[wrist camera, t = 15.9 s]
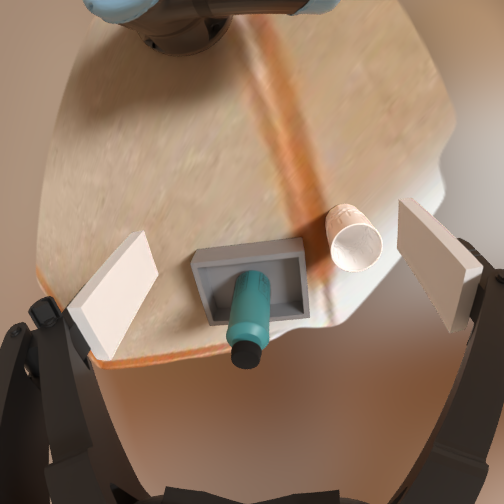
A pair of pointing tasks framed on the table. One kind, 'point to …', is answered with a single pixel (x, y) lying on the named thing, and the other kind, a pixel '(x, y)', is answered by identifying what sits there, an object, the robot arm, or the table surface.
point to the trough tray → (260, 259)
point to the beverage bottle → (249, 319)
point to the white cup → (352, 239)
